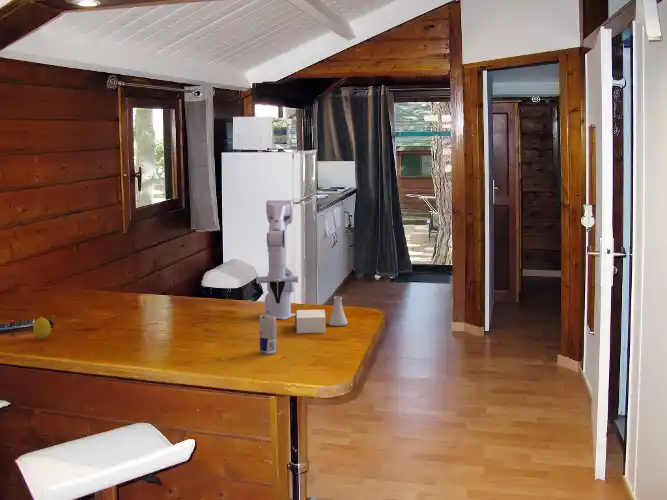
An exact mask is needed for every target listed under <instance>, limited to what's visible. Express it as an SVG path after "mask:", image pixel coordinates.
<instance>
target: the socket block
mask: <svg viewBox="0 0 667 500" xmlns="http://www.w3.org/2000/svg"><path fill="white" fill-rule="evenodd" d="M295 314H296V315H295V316H296V317H295V316H294V319H295V318H296V330H295V332H296V334H319V333H322V334H324V333H326V332H327V331H326V330H327V329H326V310H325V309H297V310H296V312H295Z"/></svg>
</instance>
